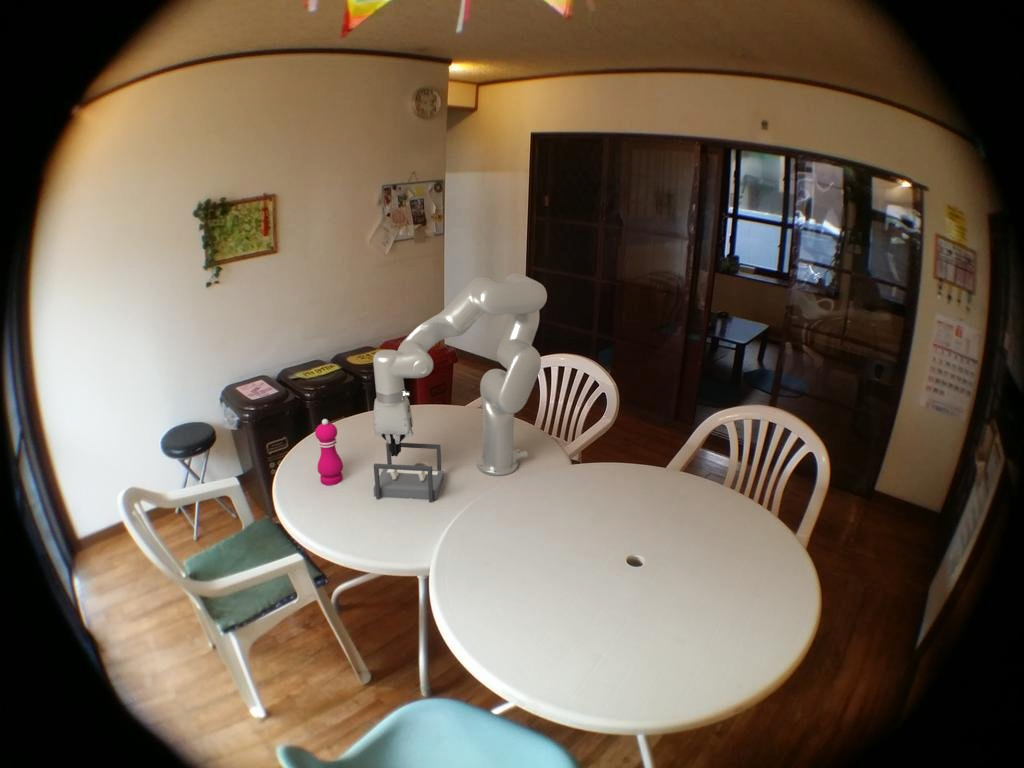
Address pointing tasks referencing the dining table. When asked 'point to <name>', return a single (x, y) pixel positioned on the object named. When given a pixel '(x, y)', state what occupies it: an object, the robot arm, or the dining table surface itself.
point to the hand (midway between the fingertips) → (395, 453)
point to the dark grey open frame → (408, 466)
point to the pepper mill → (328, 454)
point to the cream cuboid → (422, 475)
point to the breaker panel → (409, 484)
